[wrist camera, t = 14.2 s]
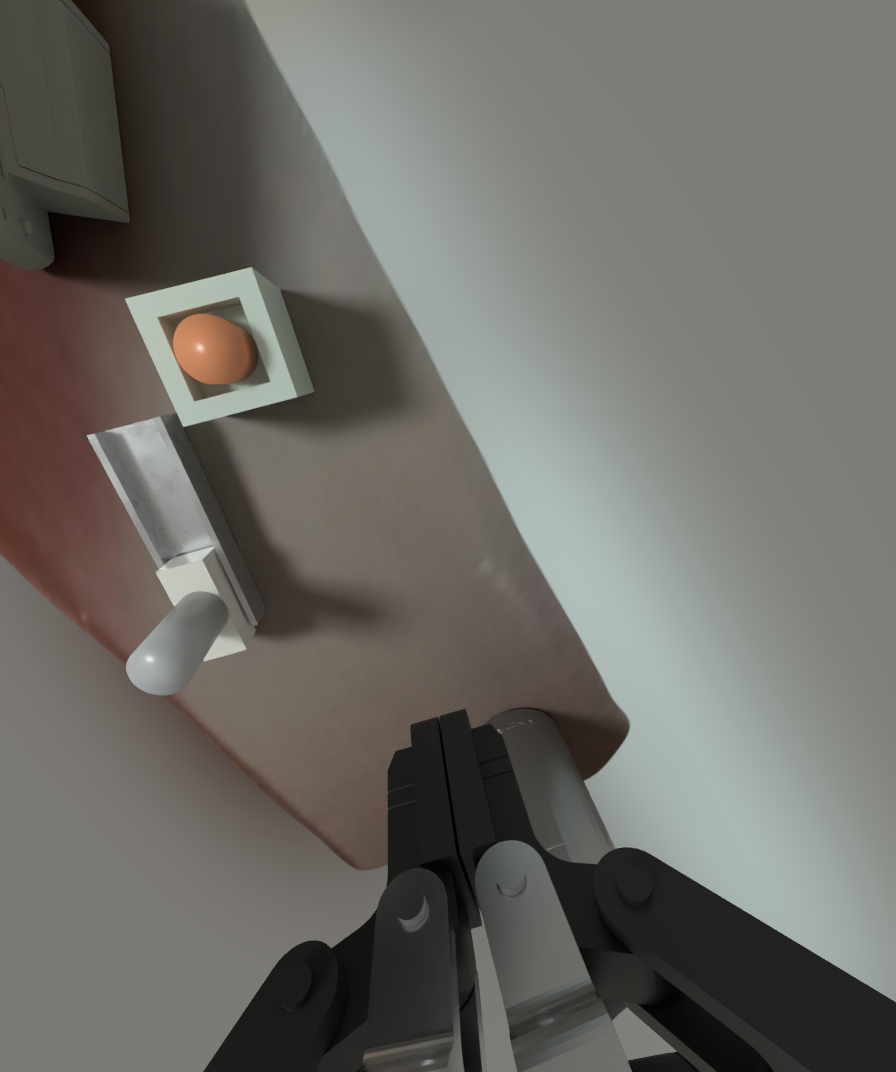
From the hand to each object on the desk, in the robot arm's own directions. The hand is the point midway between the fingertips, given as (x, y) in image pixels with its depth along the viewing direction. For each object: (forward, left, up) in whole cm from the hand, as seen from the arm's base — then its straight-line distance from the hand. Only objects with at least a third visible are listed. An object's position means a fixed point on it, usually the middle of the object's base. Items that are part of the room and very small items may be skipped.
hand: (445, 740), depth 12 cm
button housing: (+13, +8, -27) cm, 31 cm away
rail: (+2, +17, -27) cm, 32 cm away
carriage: (-4, +17, -25) cm, 31 cm away
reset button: (+12, +8, -22) cm, 26 cm away
